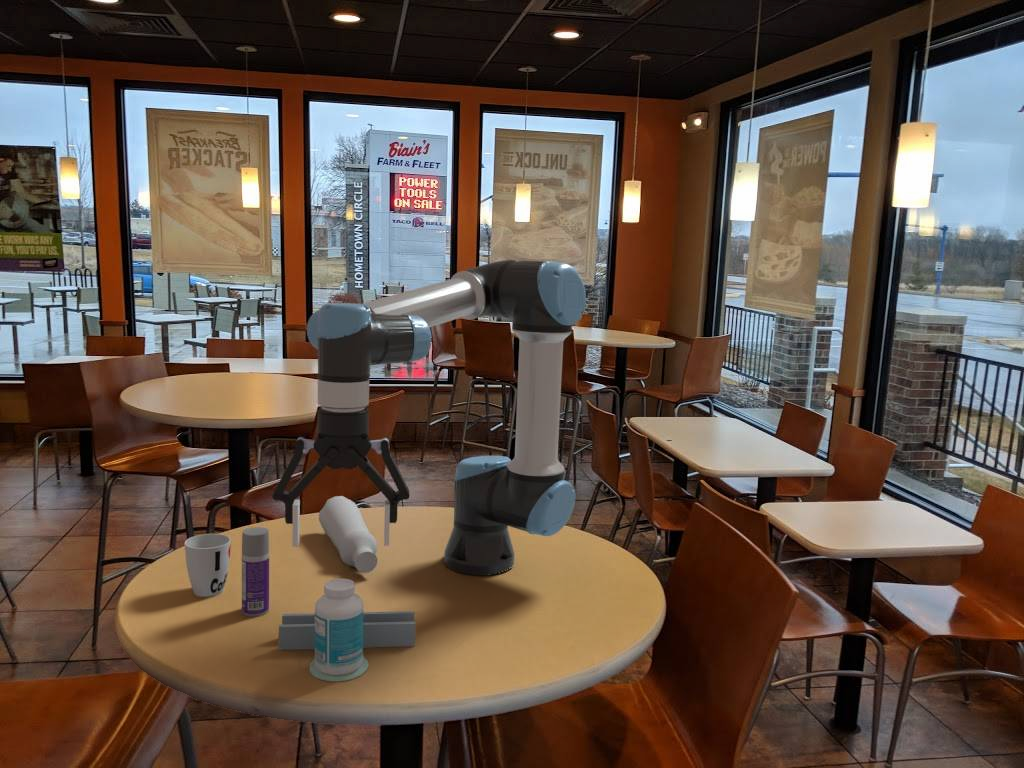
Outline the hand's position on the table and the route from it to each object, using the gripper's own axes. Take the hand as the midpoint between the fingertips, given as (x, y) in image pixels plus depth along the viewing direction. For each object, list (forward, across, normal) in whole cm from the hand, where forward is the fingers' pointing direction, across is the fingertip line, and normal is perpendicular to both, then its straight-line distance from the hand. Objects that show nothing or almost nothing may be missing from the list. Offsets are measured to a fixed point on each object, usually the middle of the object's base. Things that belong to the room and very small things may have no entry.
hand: (341, 543), depth 121 cm
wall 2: (+20, -1, -10) cm, 23 cm away
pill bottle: (+20, 0, 0) cm, 20 cm away
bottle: (+21, +1, -49) cm, 53 cm away
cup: (+20, +26, -30) cm, 45 cm away
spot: (+20, 0, 0) cm, 20 cm away
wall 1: (+20, -1, -6) cm, 21 cm away
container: (+20, +16, -21) cm, 33 cm away
